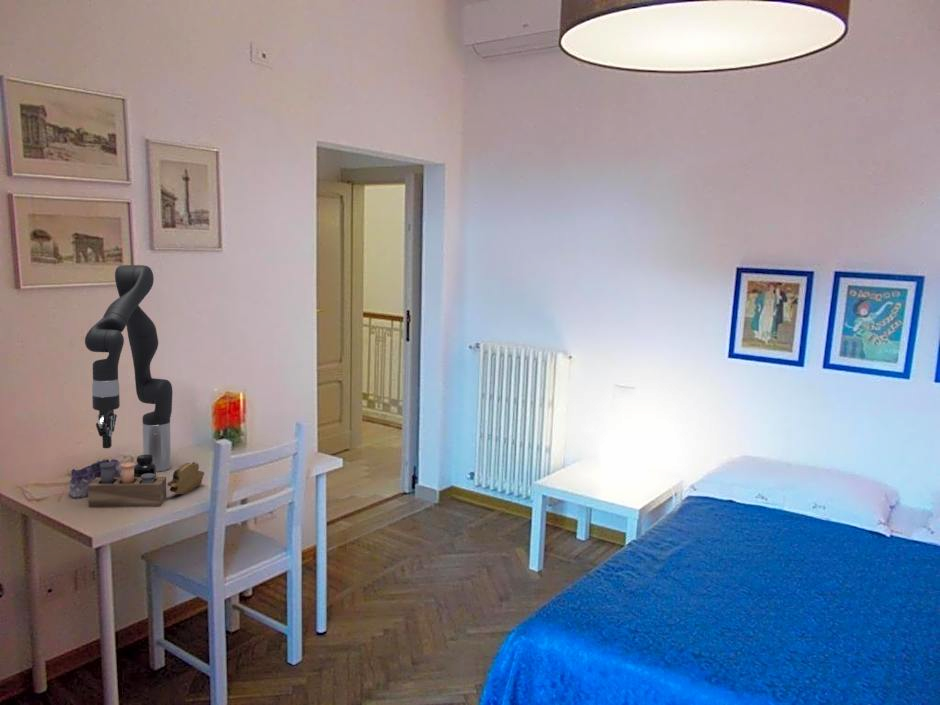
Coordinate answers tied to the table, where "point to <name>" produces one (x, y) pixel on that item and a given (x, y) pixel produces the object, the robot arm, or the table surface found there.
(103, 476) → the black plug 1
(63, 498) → the table surface
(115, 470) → the geode
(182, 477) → the wooden carving
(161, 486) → the walnut socket block
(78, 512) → the table surface
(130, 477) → the terracotta plug
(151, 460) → the supplement bottle
